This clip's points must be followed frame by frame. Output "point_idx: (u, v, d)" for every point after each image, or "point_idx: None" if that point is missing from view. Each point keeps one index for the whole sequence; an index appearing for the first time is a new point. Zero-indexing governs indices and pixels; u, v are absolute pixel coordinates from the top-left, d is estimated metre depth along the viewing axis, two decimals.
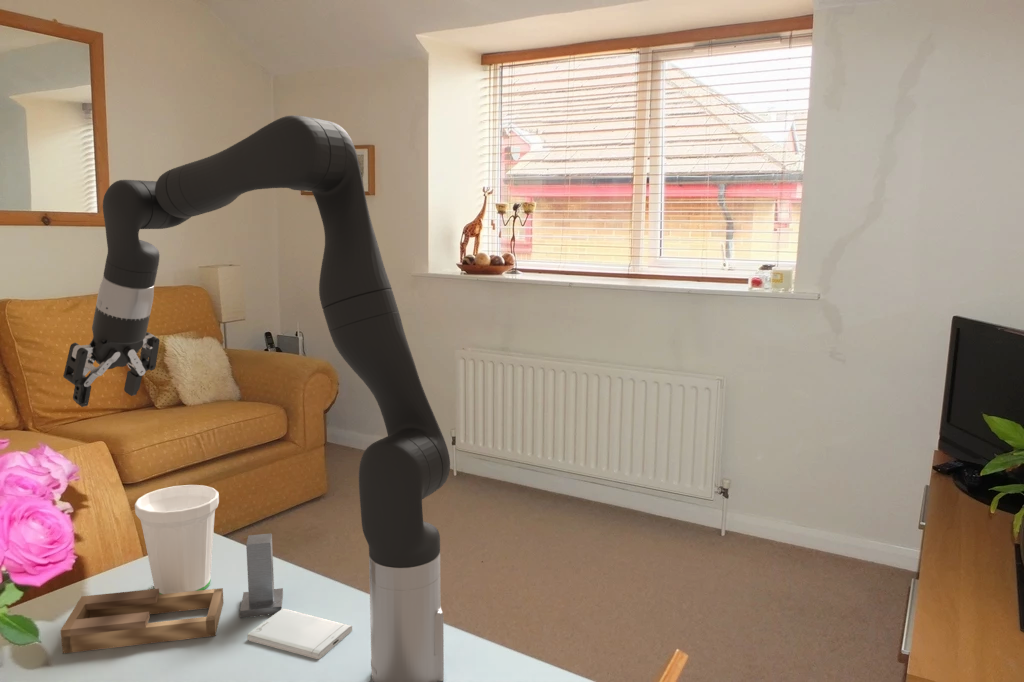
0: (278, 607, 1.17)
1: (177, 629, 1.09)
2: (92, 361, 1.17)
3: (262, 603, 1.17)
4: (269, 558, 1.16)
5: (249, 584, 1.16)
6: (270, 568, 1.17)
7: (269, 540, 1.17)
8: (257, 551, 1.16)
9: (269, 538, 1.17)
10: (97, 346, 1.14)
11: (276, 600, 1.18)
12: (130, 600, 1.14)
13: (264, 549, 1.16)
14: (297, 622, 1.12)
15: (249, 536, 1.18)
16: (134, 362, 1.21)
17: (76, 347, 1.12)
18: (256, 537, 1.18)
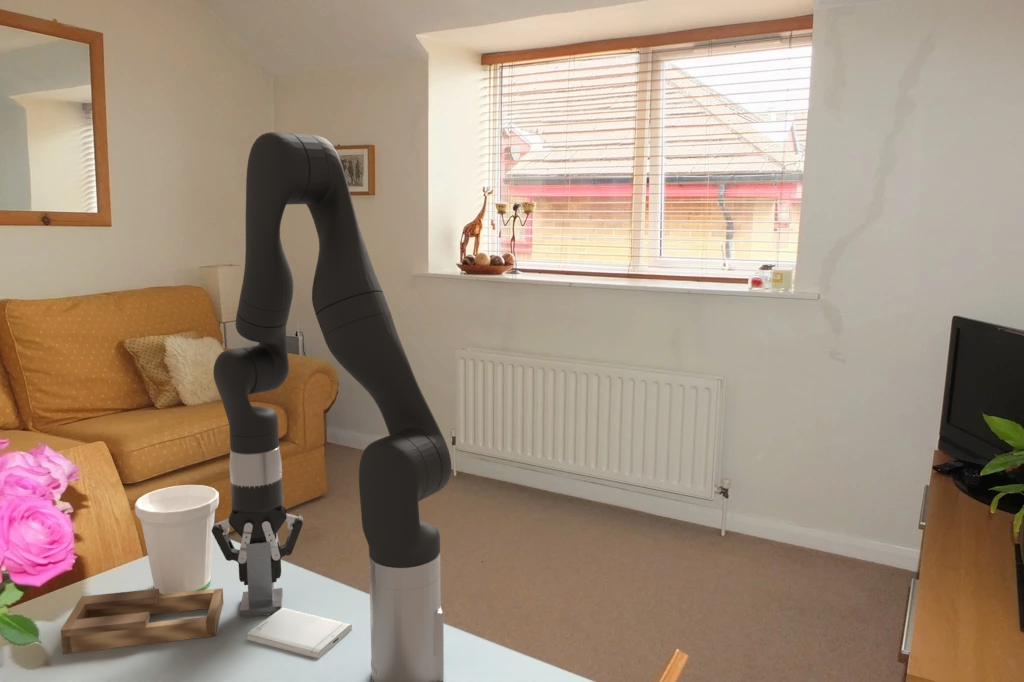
0: (277, 607, 1.17)
1: (177, 629, 1.09)
2: None
3: (262, 603, 1.17)
4: (269, 558, 1.16)
5: (249, 584, 1.16)
6: (270, 568, 1.17)
7: None
8: (257, 551, 1.16)
9: None
10: (228, 519, 1.15)
11: (275, 600, 1.18)
12: (130, 600, 1.14)
13: (263, 548, 1.16)
14: (297, 621, 1.13)
15: None
16: (268, 538, 1.16)
17: None
18: None
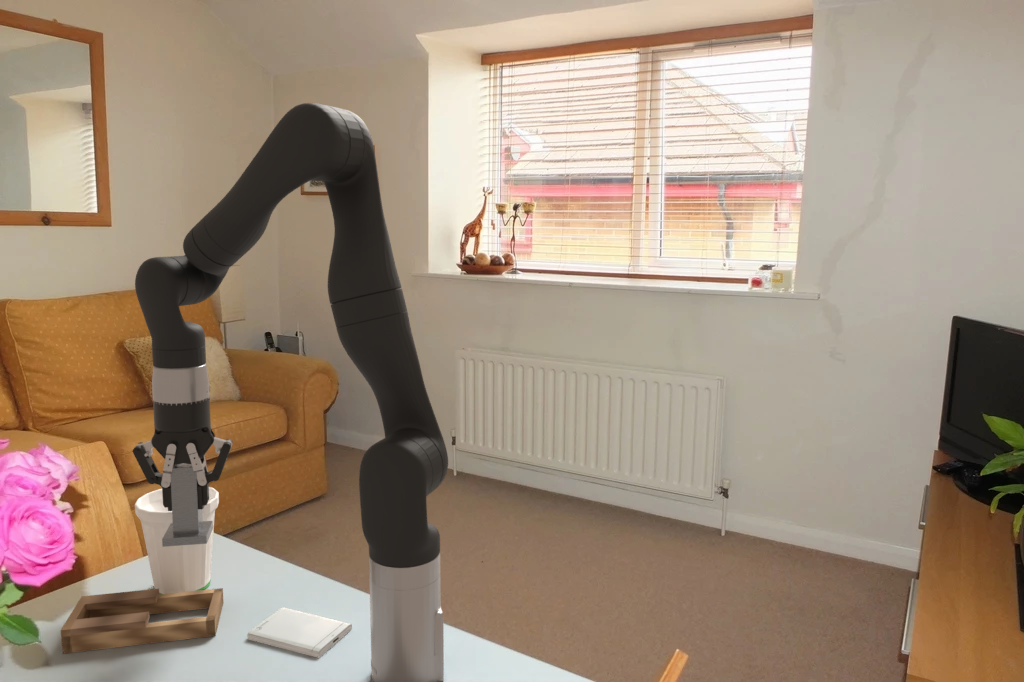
0: (203, 536, 1.11)
1: (177, 629, 1.09)
2: None
3: (187, 532, 1.11)
4: (195, 484, 1.11)
5: (173, 511, 1.10)
6: (196, 495, 1.11)
7: None
8: (182, 476, 1.10)
9: None
10: None
11: (202, 530, 1.13)
12: (130, 600, 1.14)
13: (189, 474, 1.10)
14: (297, 621, 1.13)
15: None
16: (193, 461, 1.10)
17: (135, 447, 1.09)
18: (183, 463, 1.12)
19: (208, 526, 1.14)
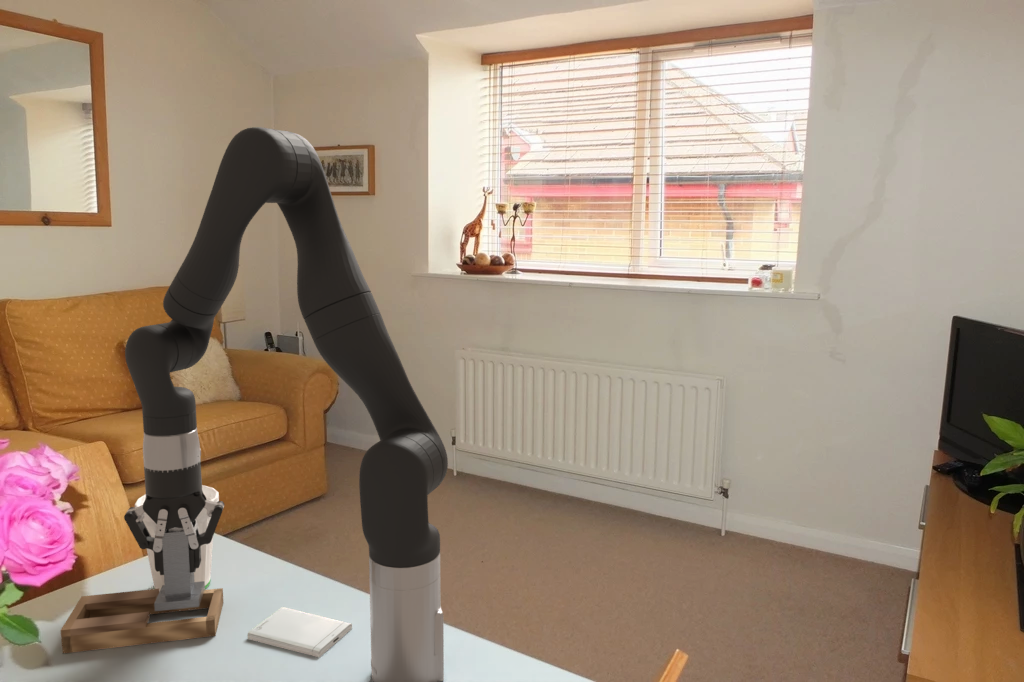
0: (195, 600, 1.11)
1: (177, 629, 1.09)
2: None
3: (179, 596, 1.12)
4: (186, 548, 1.11)
5: (165, 575, 1.11)
6: (187, 558, 1.11)
7: None
8: (174, 540, 1.10)
9: None
10: (142, 505, 1.09)
11: (194, 593, 1.13)
12: (130, 600, 1.14)
13: (181, 538, 1.11)
14: (297, 620, 1.13)
15: None
16: (184, 526, 1.10)
17: (126, 512, 1.09)
18: None
19: (200, 588, 1.15)
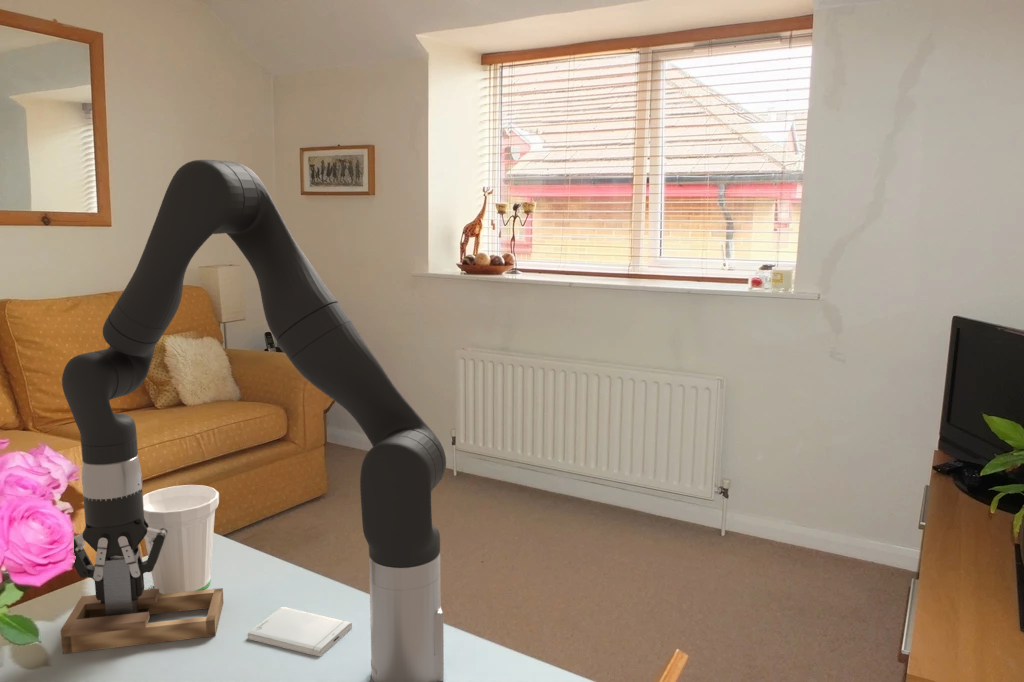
0: None
1: (177, 629, 1.09)
2: None
3: None
4: (128, 576, 1.10)
5: (106, 603, 1.09)
6: (129, 586, 1.10)
7: None
8: (115, 568, 1.09)
9: None
10: (82, 533, 1.08)
11: None
12: None
13: (122, 566, 1.09)
14: (297, 620, 1.13)
15: None
16: (125, 554, 1.09)
17: None
18: None
19: None
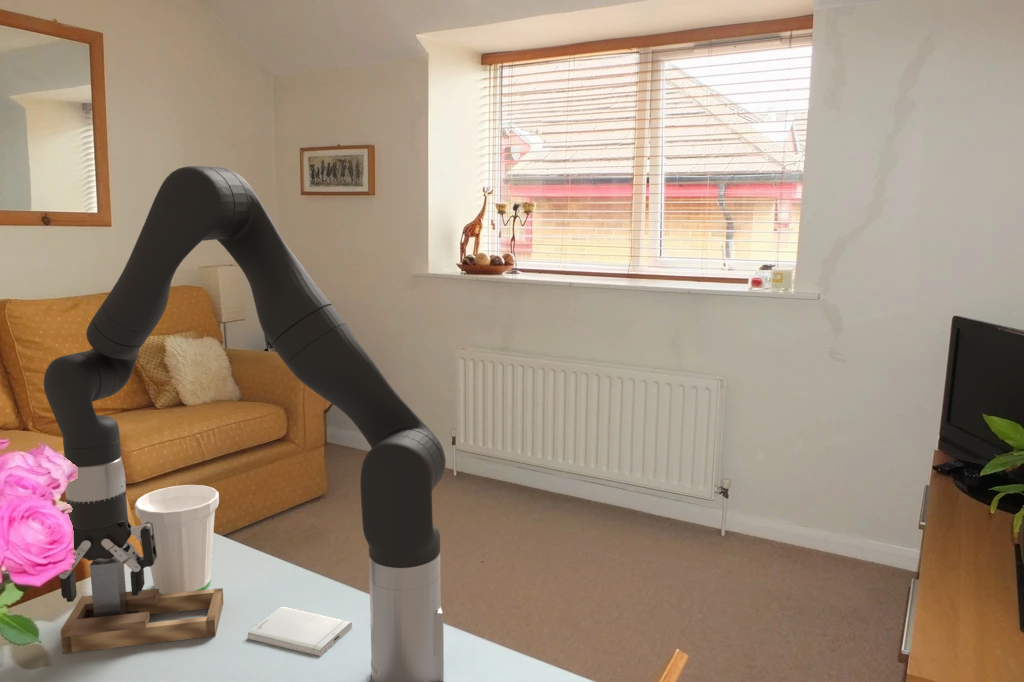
0: None
1: (177, 629, 1.09)
2: None
3: None
4: (116, 579, 1.09)
5: (94, 607, 1.09)
6: (117, 590, 1.09)
7: (116, 560, 1.09)
8: (103, 572, 1.08)
9: None
10: None
11: None
12: (130, 600, 1.14)
13: (110, 570, 1.09)
14: (297, 619, 1.13)
15: None
16: (116, 554, 1.08)
17: None
18: None
19: None
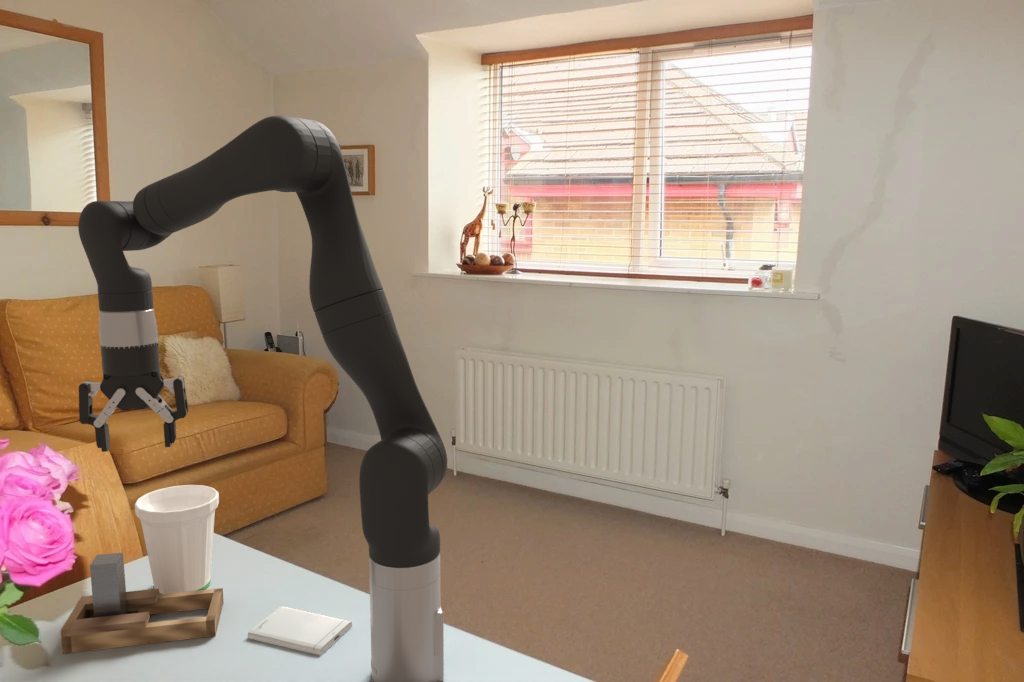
0: None
1: (177, 629, 1.09)
2: None
3: None
4: (116, 579, 1.09)
5: (94, 607, 1.09)
6: (117, 590, 1.09)
7: (116, 560, 1.09)
8: (103, 572, 1.08)
9: (117, 558, 1.10)
10: (101, 382, 1.09)
11: None
12: (130, 600, 1.14)
13: (110, 570, 1.09)
14: (297, 619, 1.13)
15: (97, 556, 1.11)
16: (149, 404, 1.11)
17: (82, 383, 1.09)
18: (104, 557, 1.10)
19: None
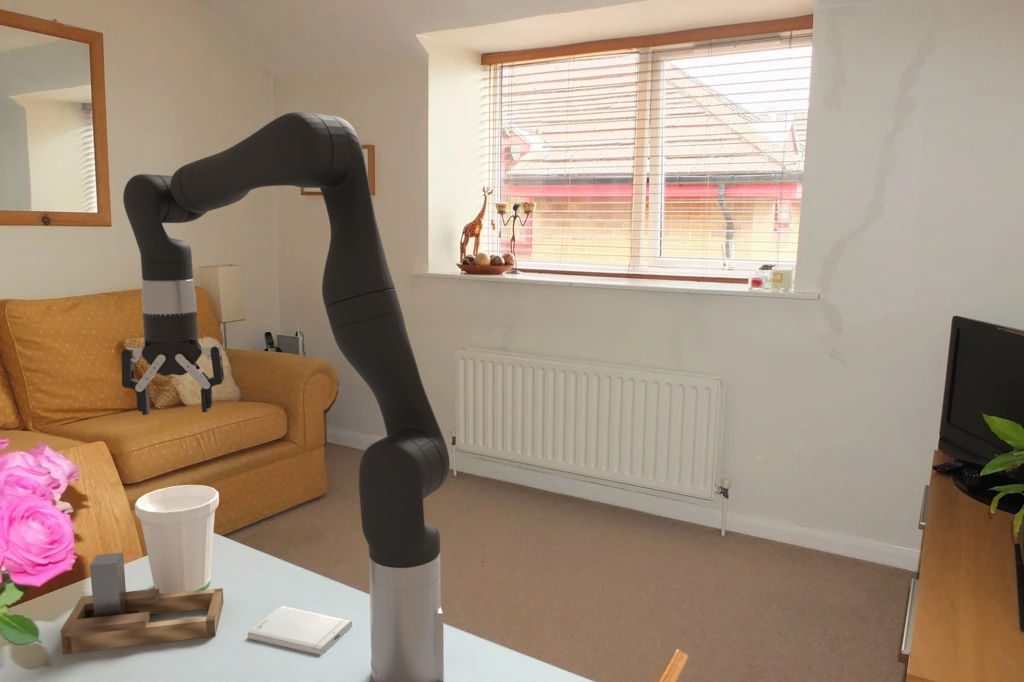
0: None
1: (177, 629, 1.09)
2: None
3: None
4: (116, 579, 1.09)
5: (94, 607, 1.09)
6: (117, 590, 1.09)
7: (116, 560, 1.09)
8: (103, 572, 1.08)
9: (117, 558, 1.10)
10: (143, 348, 1.15)
11: None
12: (130, 600, 1.14)
13: (110, 569, 1.09)
14: (297, 619, 1.13)
15: (97, 556, 1.11)
16: (188, 370, 1.16)
17: None
18: (104, 557, 1.10)
19: None
